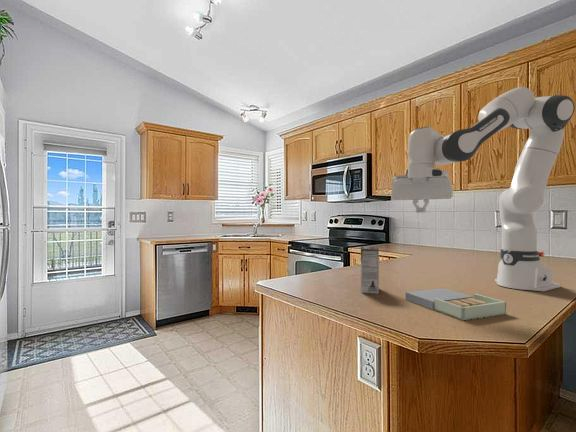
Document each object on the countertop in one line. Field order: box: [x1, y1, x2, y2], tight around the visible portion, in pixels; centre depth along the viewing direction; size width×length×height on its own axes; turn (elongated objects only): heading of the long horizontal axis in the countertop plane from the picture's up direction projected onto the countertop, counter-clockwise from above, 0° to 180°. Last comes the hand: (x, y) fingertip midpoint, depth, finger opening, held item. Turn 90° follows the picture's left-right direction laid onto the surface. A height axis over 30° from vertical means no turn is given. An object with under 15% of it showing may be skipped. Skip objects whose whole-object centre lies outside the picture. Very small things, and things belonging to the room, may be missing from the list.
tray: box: [433, 293, 507, 322], centre depth 94 cm, size 16×10×4 cm, turn 110°
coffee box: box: [360, 246, 380, 295], centre depth 120 cm, size 9×6×16 cm
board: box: [405, 287, 473, 311], centre depth 105 cm, size 16×12×2 cm
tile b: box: [446, 300, 470, 307], centre depth 95 cm, size 5×5×2 cm
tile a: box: [459, 298, 486, 306], centre depth 97 cm, size 5×5×2 cm
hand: (420, 212), depth 114 cm, fingers closed
